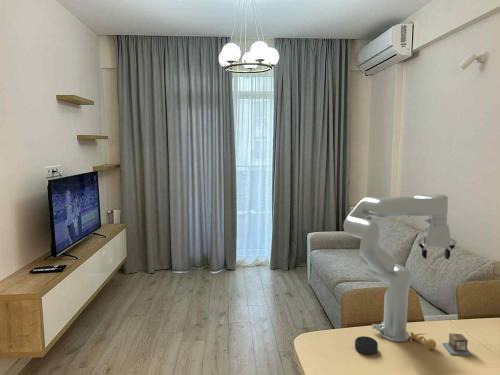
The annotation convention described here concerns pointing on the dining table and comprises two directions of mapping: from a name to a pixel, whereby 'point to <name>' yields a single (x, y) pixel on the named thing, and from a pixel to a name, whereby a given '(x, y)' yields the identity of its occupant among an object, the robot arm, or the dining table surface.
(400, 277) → the robot arm
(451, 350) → the rubber mat
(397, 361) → the dining table surface
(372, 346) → the smart speaker
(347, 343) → the dining table surface
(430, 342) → the figurine
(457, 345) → the marked cube
